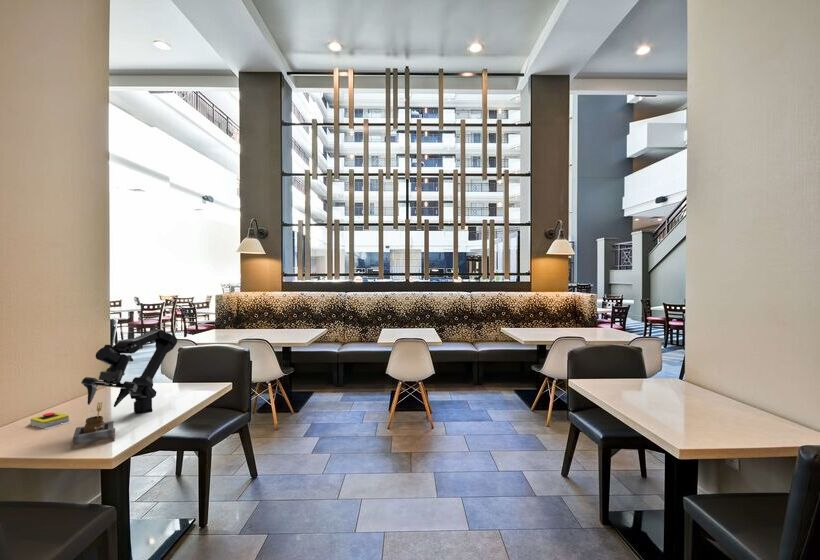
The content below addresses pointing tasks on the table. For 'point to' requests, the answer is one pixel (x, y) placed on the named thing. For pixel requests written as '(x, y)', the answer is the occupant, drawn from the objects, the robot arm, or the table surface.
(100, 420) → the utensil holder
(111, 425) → the pocket plate
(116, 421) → the table surface
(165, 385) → the table surface
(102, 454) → the table surface
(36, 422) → the emergency button
